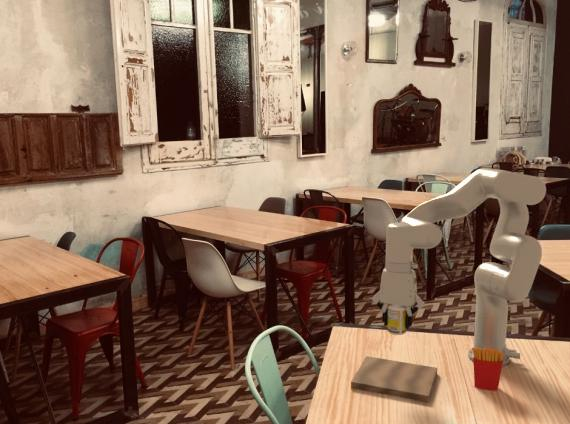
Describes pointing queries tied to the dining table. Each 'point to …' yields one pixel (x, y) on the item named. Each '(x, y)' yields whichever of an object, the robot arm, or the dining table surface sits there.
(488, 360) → the french fries
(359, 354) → the dining table surface
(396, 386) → the walnut board
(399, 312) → the supplement bottle
